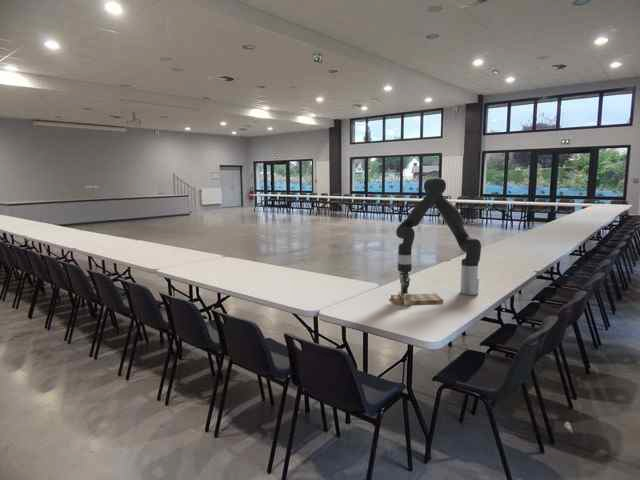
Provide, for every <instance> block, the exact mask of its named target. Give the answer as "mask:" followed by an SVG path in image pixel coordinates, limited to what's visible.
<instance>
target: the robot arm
mask: <svg viewBox="0 0 640 480" xmlns="http://www.w3.org/2000/svg"><path fill="white" fill-rule="evenodd" d="M446 188H447V182H446V181H445V179H443V178H441V177H435V178H429V179H426V180H425V181H424V183H423V189H424V191H425V193H426V195H425V196H424V198H423V199H422V200H421V201H419V202H418V203H417V204H416V205H415V206H414V207H413V209H412V210H411V211H410V213H409V215H408V217H406V219H404V220H403V221H402V222H401V223H400V224H399V225H398V227H397V228H396V232H395V234H396V237H398V238H399V239H401V240H402V243H399V244H398V252H397V253H398V254H397V255H398V256H397V271H398V272H399V274H398V275H399V283H400V284H401V283H403V294H406V293H407V287H408V288H409V287H410V282H411V277H410V274H409V272H411V271H412V270H413V269H412V264H413V262H412V261H413V258H412V257H413V256H412V252H413V250H412V247H413V243H414V239H415V235H416V234H415V230H414V227H417V226H419V224H420V223H421V221H422V220H423V218H424V217H425V215H426V213H427V212H428V211H429V210H430V208H431V207H432V206H433V205H435V208H436V209H437V210H438V212H439V214H440V215H441V217H442V219H443V220H444V222H445V223H446V225H447V227H448V228H449V229H450V230H449V231H450V232H451V233H452V234H453V236H454V238H455V240H456V242H457V244H458V247H459V249H460V250H461V251H462V252H463V253H465V258H463V259H461V269H460V294H462V295H467V296H474V295H475V296H476V295H479V289H480V288H479V286H480V284H479V283H480V278H479V263H480V260H481V252H482V244H481V241H480V240H479V239H478V238H475V237H471V236H470V235H469V234H468V232H467V231H466V230H465V227H464V218H463V216H462V215H461V213H460V211H459V210H458V208H457V206H455V205H454V204H453V203H452V202H451V201H450V200H448V199H447V198H446V197H445V196H444V192H445V190H446Z"/></svg>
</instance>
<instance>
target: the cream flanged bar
mask: <svg viewBox="0 0 640 480" xmlns="http://www.w3.org/2000/svg"><path fill="white" fill-rule="evenodd" d="M408 288H409V287H407V293H406V294H403V283H400V290H398V294H397V295H400V296H401V297H402V298H403V300H404V306H412V305H413V304H412V294H413V293H409V291H408V290H409V289H408Z"/></svg>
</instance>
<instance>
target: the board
mask: <svg viewBox="0 0 640 480" xmlns="http://www.w3.org/2000/svg"><path fill="white" fill-rule="evenodd" d="M411 294H412V305H428V304H429V305H430V304H431V305H433V304H444V299H443V298H442V297H441V296H439V295H438V294H437V293H418V294H417V293H411ZM390 299H391V300H392V302H393V303H394V305H396V306H399V305H404V300H403V298H402V297H401V296H400V295H399V294H391V295H390ZM404 306H405V305H404Z"/></svg>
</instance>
